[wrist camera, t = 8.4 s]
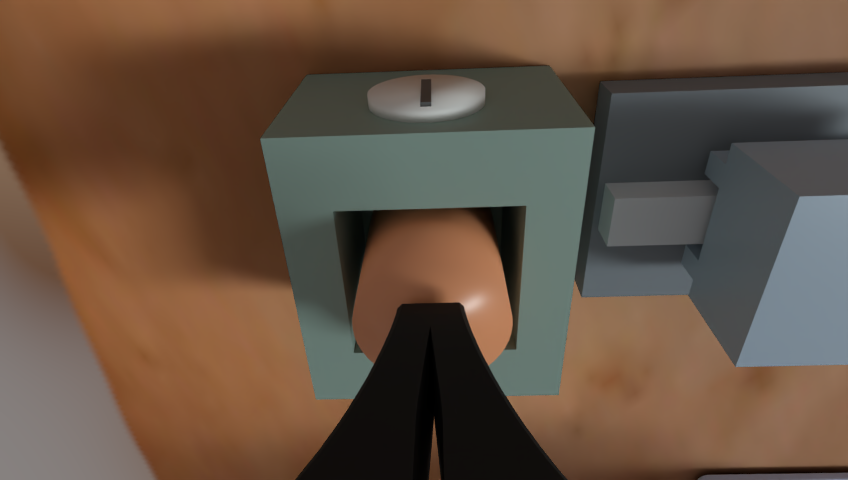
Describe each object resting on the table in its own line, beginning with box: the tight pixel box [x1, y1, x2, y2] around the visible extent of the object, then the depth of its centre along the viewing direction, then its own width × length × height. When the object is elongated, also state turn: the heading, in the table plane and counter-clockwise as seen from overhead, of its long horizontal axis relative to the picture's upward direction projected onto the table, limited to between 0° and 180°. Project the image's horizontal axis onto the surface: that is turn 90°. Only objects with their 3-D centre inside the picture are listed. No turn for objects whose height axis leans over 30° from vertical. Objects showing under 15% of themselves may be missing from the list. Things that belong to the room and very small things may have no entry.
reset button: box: [352, 207, 513, 366], centre depth 14 cm, size 4×4×4 cm
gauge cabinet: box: [260, 66, 595, 399], centre depth 15 cm, size 8×7×5 cm
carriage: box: [681, 139, 848, 367], centre depth 14 cm, size 5×5×4 cm
